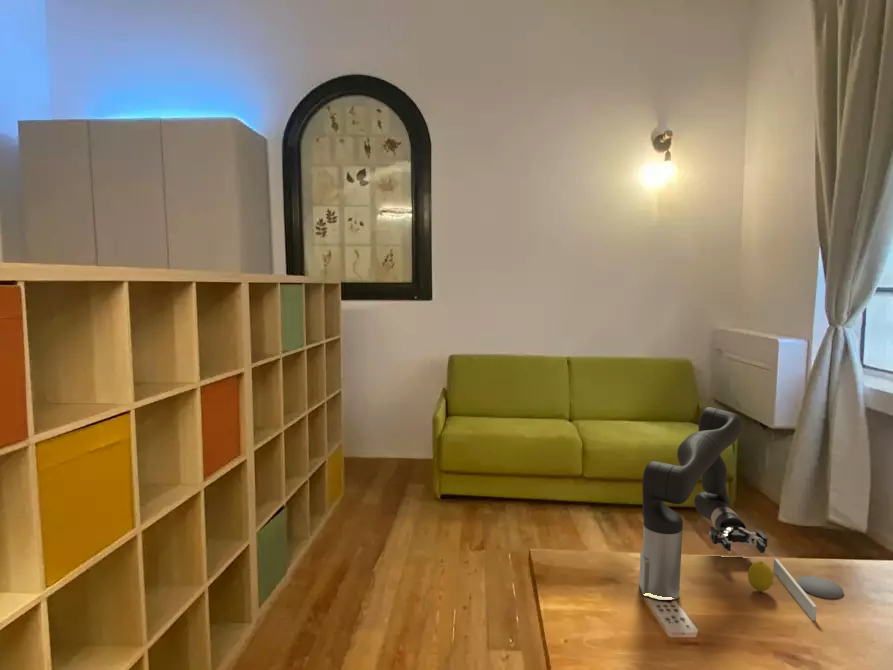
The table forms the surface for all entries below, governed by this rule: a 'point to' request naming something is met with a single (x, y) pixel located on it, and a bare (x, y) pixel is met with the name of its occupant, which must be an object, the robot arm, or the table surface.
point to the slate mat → (820, 587)
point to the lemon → (760, 576)
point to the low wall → (795, 590)
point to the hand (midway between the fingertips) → (746, 548)
